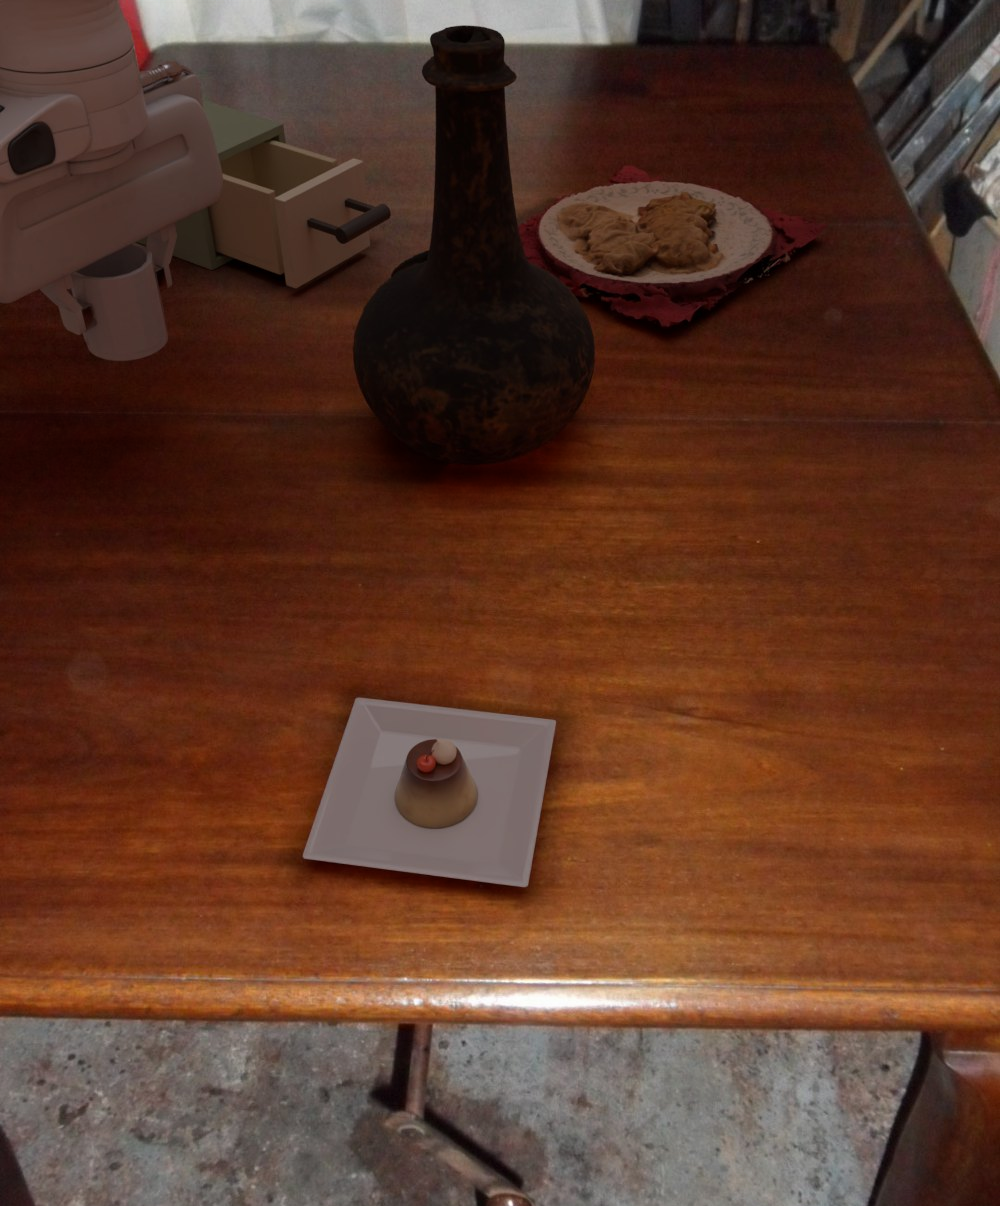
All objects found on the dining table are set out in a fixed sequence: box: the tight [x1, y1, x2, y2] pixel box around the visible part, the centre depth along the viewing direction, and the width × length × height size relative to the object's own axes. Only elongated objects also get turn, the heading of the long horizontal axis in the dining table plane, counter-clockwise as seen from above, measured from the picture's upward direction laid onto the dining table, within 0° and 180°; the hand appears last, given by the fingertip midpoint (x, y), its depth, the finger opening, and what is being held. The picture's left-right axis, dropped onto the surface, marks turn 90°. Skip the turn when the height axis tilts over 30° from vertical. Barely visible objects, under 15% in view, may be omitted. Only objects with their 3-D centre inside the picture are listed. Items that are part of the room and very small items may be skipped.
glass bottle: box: [352, 24, 596, 466], centre depth 82 cm, size 18×18×28 cm
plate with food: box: [518, 165, 827, 328], centre depth 112 cm, size 24×26×4 cm
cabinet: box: [136, 99, 287, 271], centre depth 113 cm, size 15×12×10 cm
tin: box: [70, 242, 169, 362], centre depth 83 cm, size 6×6×6 cm
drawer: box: [207, 139, 392, 289], centre depth 108 cm, size 18×10×8 cm, turn 55°
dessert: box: [302, 697, 557, 888], centre depth 65 cm, size 12×12×5 cm
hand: (119, 308), depth 83 cm, fingers closed on tin, 6 cm apart
